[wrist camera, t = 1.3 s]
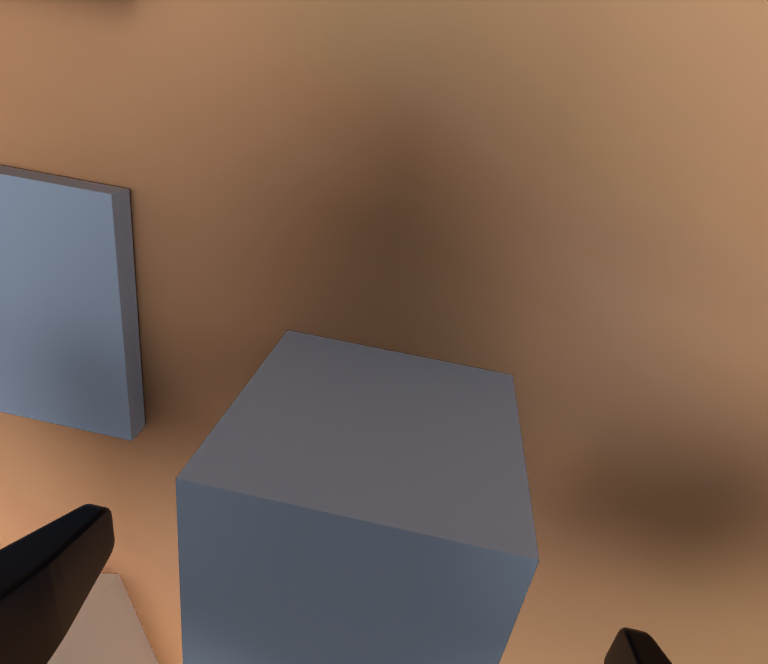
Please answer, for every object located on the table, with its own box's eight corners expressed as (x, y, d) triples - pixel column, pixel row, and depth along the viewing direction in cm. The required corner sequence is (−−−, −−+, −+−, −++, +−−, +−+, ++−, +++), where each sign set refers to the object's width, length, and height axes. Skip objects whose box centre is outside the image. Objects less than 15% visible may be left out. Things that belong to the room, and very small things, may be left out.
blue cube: (512, 373, 11) (539, 560, 7) (464, 538, 14) (460, 762, 9) (288, 328, 12) (175, 478, 7) (276, 496, 14) (184, 692, 9)
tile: (129, 188, 11) (111, 194, 10) (145, 426, 13) (131, 440, 13) (-139, 139, 11) (-169, 142, 11) (-72, 378, 14) (-93, 391, 13)
